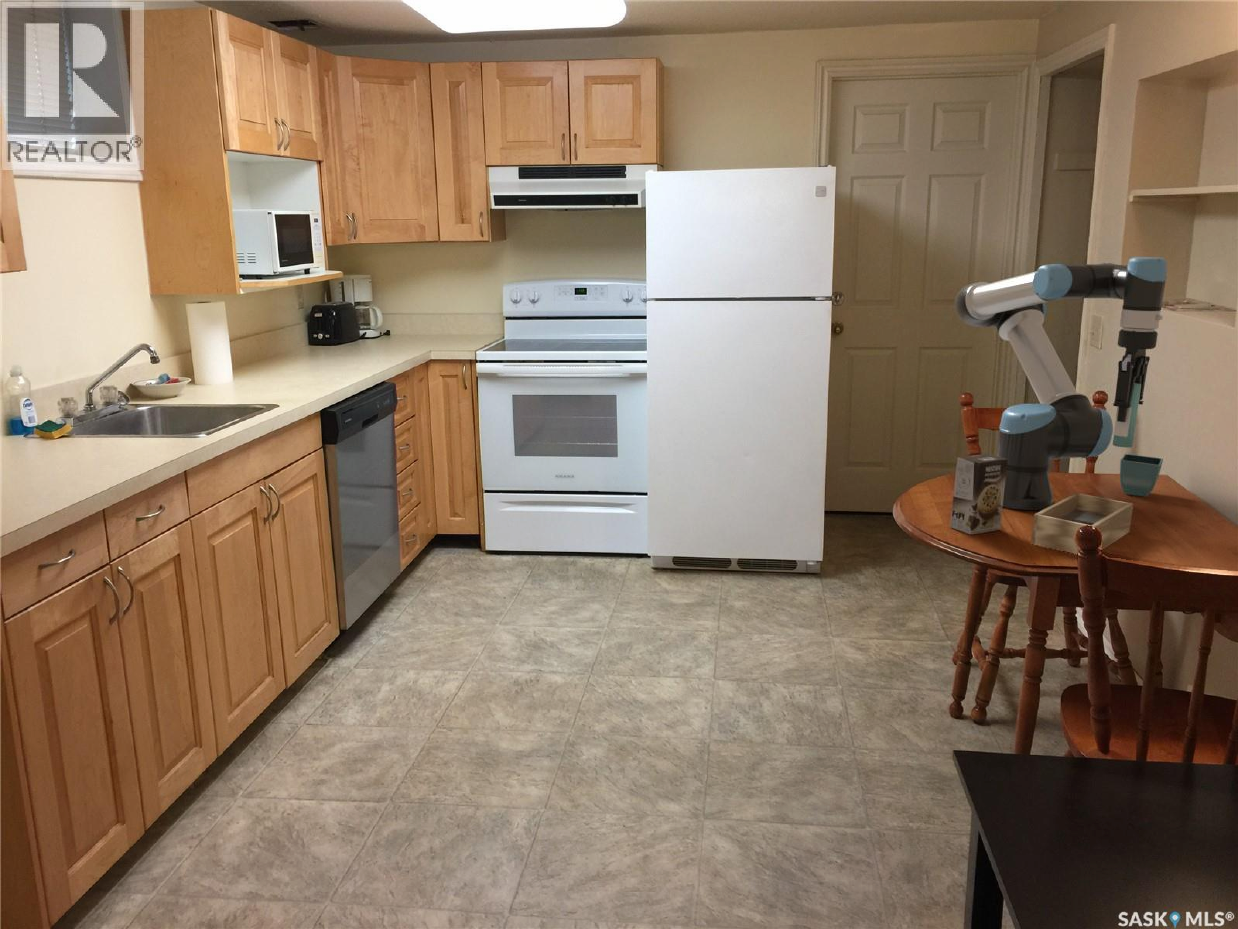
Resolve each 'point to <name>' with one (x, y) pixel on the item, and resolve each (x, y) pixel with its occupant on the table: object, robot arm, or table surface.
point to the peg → (1128, 440)
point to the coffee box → (978, 493)
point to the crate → (1080, 521)
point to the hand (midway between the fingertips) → (1123, 433)
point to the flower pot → (1139, 474)
